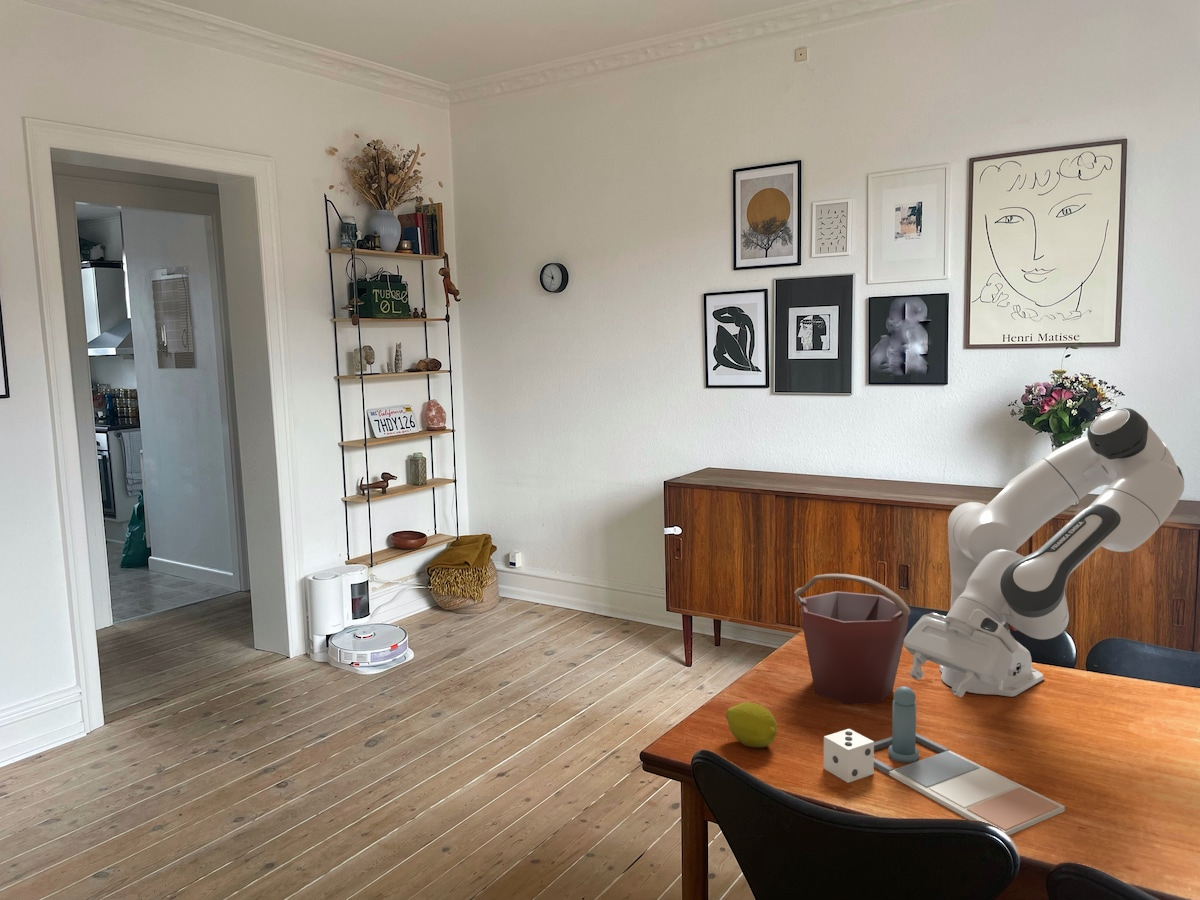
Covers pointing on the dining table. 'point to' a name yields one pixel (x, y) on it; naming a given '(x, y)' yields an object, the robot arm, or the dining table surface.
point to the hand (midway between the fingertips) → (934, 685)
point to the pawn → (904, 726)
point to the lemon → (752, 724)
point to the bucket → (853, 640)
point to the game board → (971, 789)
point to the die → (848, 755)
